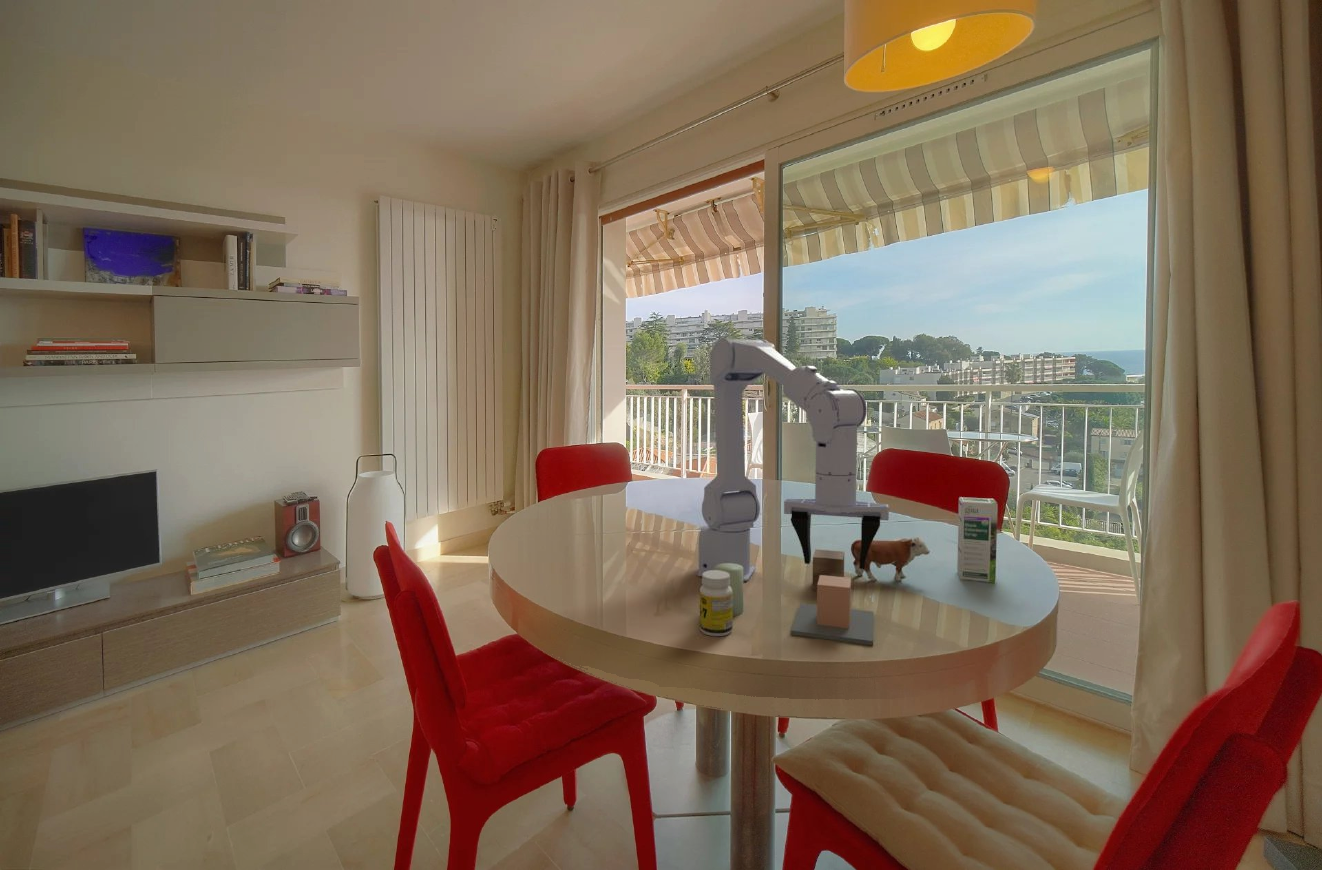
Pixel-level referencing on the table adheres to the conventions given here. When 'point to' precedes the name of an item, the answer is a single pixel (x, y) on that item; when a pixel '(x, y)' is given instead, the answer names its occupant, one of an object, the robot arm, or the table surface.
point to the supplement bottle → (716, 603)
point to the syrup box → (977, 539)
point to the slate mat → (855, 633)
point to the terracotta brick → (833, 601)
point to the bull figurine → (889, 554)
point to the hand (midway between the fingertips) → (834, 564)
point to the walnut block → (827, 565)
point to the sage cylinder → (734, 585)
